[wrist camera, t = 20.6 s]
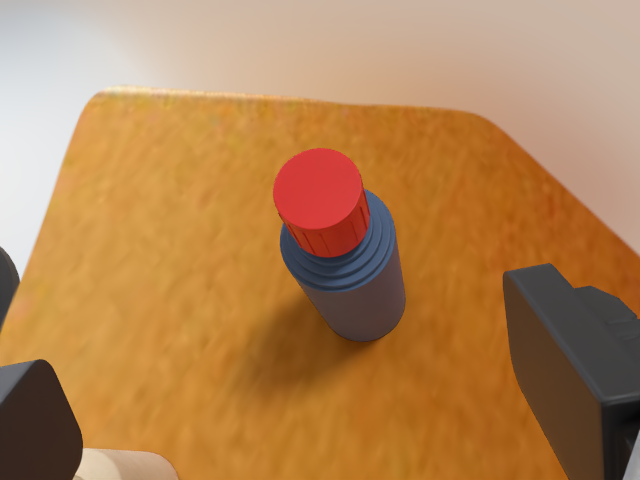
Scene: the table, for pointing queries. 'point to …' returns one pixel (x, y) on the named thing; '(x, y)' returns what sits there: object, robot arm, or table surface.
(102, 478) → the candle
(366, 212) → the cap
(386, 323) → the water bottle
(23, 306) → the table surface
